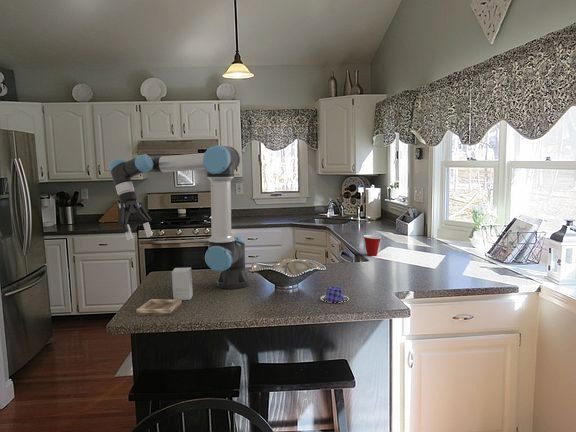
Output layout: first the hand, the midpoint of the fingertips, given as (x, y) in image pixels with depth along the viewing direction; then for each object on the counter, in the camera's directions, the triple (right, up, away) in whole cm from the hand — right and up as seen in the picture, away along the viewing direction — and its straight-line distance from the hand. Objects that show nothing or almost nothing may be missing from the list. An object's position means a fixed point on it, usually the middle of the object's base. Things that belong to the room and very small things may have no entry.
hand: (140, 237), depth 211 cm
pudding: (+86, -25, -15) cm, 91 cm away
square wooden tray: (+15, -27, -24) cm, 40 cm away
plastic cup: (+117, -14, +72) cm, 139 cm away
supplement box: (+21, -26, -9) cm, 34 cm away
